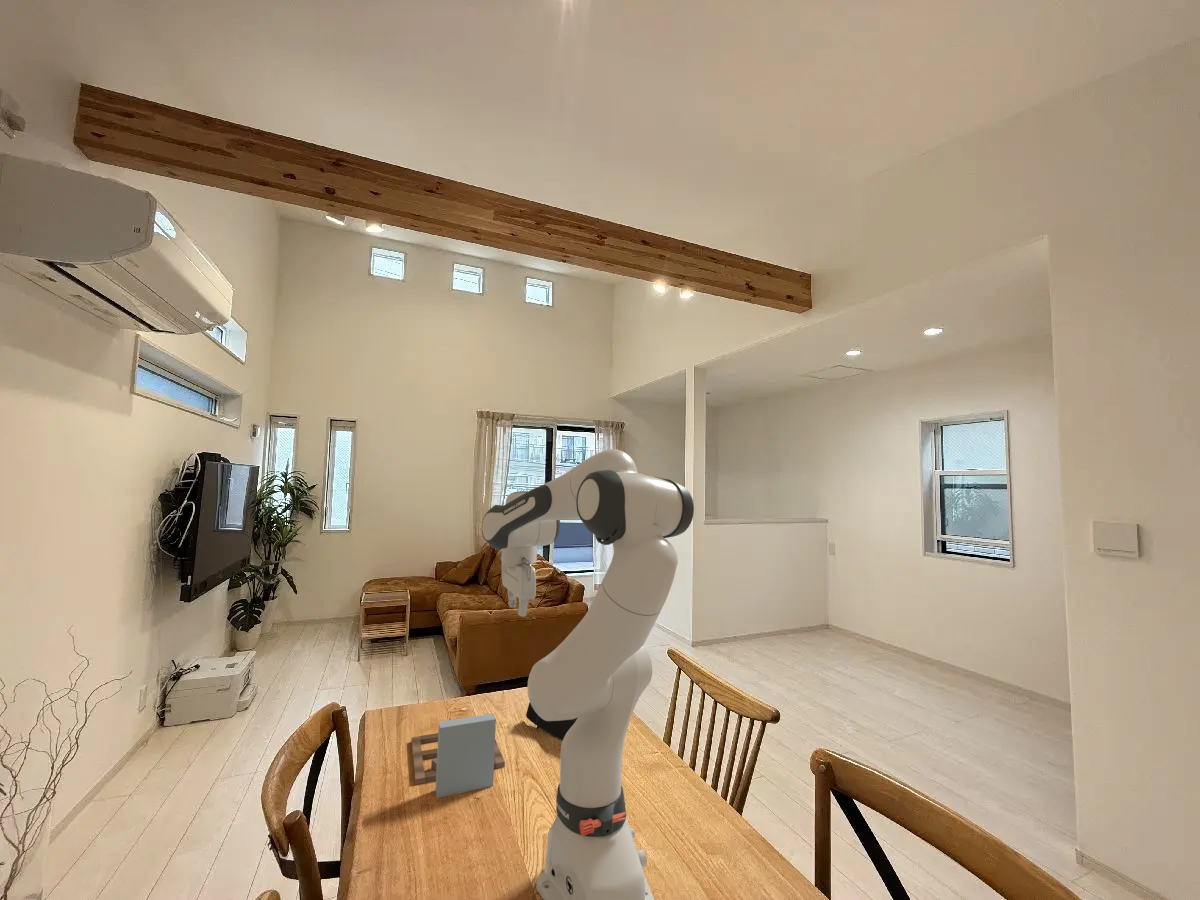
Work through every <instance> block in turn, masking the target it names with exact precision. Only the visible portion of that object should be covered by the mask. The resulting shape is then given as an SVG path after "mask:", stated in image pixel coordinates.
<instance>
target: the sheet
mask: <svg viewBox="0 0 1200 900" xmlns="http://www.w3.org/2000/svg"><path fill="white" fill-rule="evenodd" d="M496 723H497V718H496V716H495V715H494V713H488V714H481V715H474V716H468V717H463V718H457V719H456V718H455V719H449V720H442V721H439V722H438V731H437V733H438V741H437V748H438V750H437V769H436V781H435V796H436V799H439V798H443V797H448V796H452V795H457V794H461V793H466V792H471V791H476V790H480V789H486V788H490V787H494V775H495V774H494V773H495V769H494V753H495V740H496V726H497V724H496Z"/></svg>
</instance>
